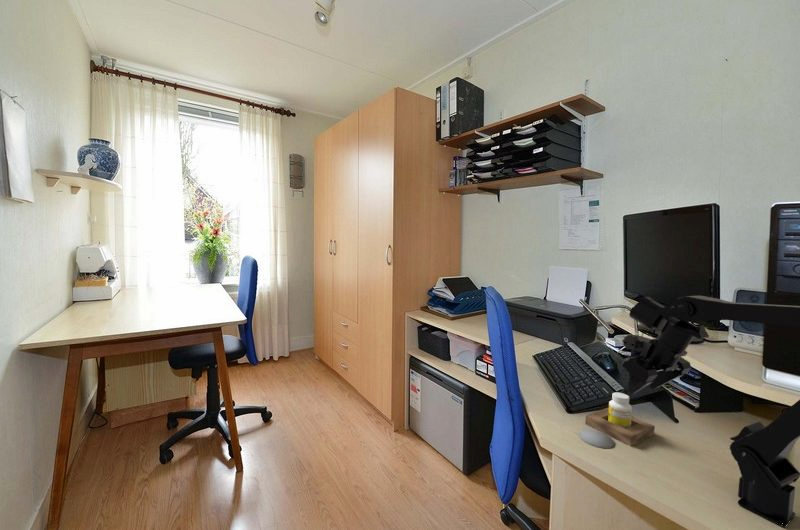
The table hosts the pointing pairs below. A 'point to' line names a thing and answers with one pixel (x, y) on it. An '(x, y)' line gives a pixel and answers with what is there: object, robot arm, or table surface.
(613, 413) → the supplement bottle
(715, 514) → the table surface
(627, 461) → the table surface
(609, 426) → the holder block
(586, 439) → the grey oval disc
